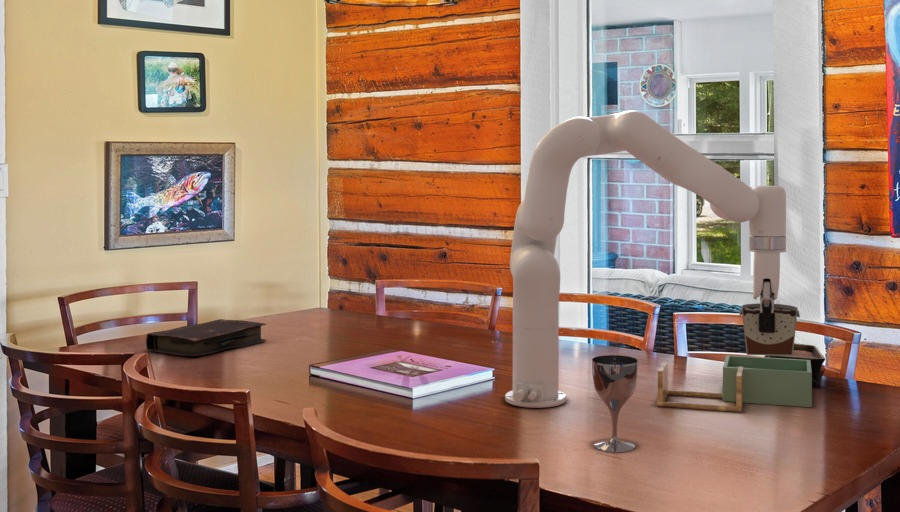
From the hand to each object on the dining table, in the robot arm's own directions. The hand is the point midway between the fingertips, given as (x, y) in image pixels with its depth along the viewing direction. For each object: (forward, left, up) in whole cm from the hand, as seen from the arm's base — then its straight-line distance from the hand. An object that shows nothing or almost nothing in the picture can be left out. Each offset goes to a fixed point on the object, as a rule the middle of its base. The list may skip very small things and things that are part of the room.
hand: (767, 328), depth 203 cm
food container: (0, 0, -5) cm, 5 cm away
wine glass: (-43, +25, -15) cm, 52 cm away
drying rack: (-9, +13, -14) cm, 21 cm away
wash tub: (0, 0, -14) cm, 14 cm away
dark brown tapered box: (+17, -5, -15) cm, 23 cm away
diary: (+13, +143, -15) cm, 144 cm away
